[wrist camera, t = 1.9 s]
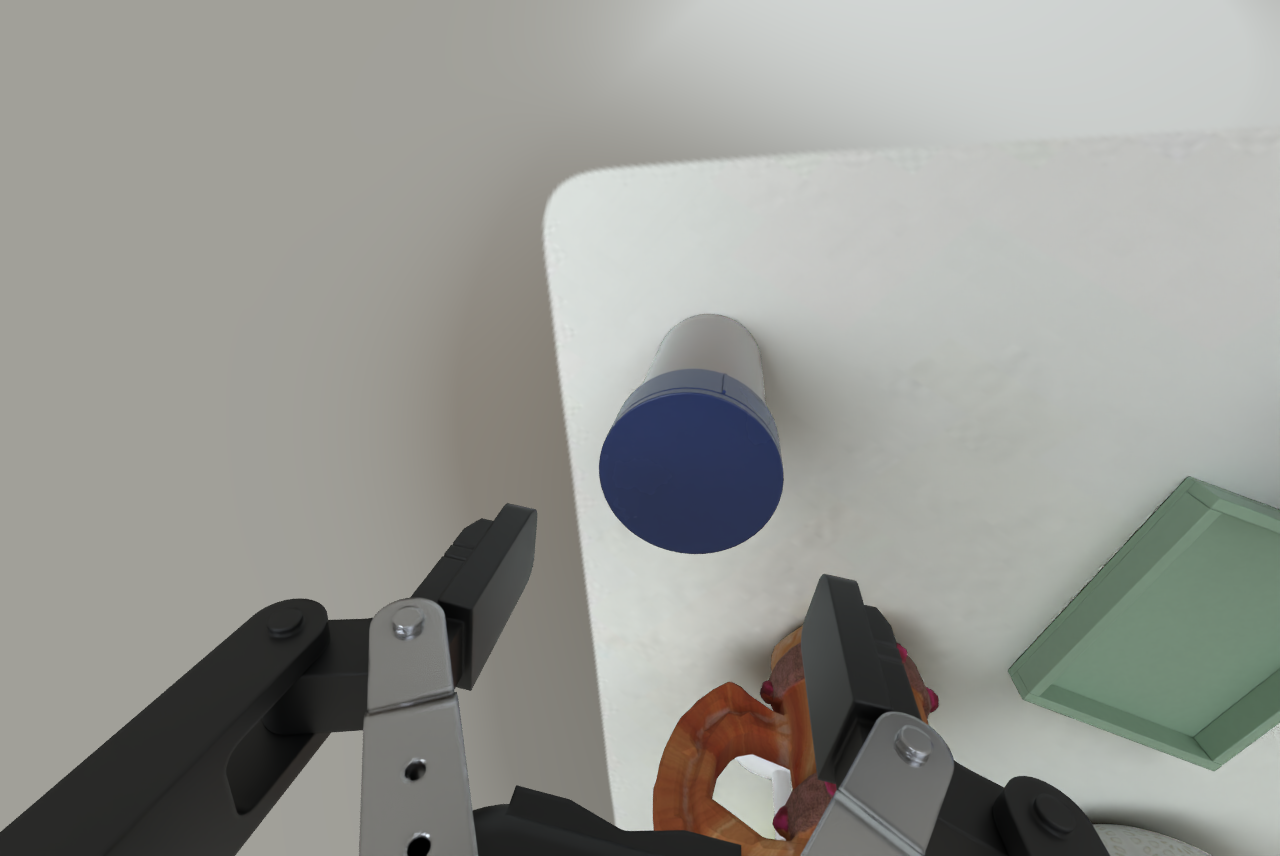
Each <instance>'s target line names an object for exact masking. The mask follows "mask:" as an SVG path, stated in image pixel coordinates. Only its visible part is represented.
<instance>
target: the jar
mask: <svg viewBox="0 0 1280 856" xmlns="http://www.w3.org/2000/svg"><path fill="white" fill-rule="evenodd" d="M680 369H705V370H711V371H716V372H719V373H722V374H724V373H727V374H728V376H730V377H732V378H735V379H737V380H738V381H740V382H741V383H743V384H745V385H746V386H747V387H749V388H750V389H751V390H752V391H754V392H755V393H756V394H757V395H758V396H759V397H760V398H761V399H762V401H763V402H764V403H765V405H766V400H765V391H764V381H763V371H762V361H761V354H760V350H759V347H758V345H757V343H756V341H755V339H754V338H753V336H752V335H751V333H750V332H749V331H748V330H747V329H746V328H745V327H744V326H742V325H741V324H740V323H738V322H737V321H735V320H733V319H731V318H728V317H725V316H722V315H716V314H702V315H697V316H693V317H690V318H687V319H685V320H683V321H682V322H680V323H678V324H677V325H676V326H674V327H673V328H672V329H671V330H670V331H669V332H668V334H667V335H666V336H665V338H664V340H663V341H662V343H661V345H660V347H659V350H658V352H657V354H656V356H655V358H654V360H653V362H652V365H651V367H650V369H649V371H648V373H647V375H646V377H645V379H644V382H643V384H644V383H645V382H647V381H648V380H650V379H652V378H654V377H656V376H658V375H661V374H664V373H667V372H670V371H675V370H680Z"/></svg>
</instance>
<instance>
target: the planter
mask: <svg viewBox="0 0 1280 856" xmlns="http://www.w3.org/2000/svg"><path fill="white" fill-rule="evenodd" d="M1092 825H1093V826H1094V828H1095V830H1096V832H1097V833H1098V835H1099V837H1100V839H1101V840H1102V842H1103V844H1104V846H1105V847H1106V849H1107V851H1108V853H1109V854H1110V856H1212V855H1210V854H1208V853H1206V852H1204V851H1202V850H1200V849H1198V848H1196V847H1194V846H1192V845H1189V844H1187V843H1185V842H1182V841H1180V840H1177V839H1174V838H1172V837H1169V836H1166V835H1163V834H1159V833H1156V832H1153V831H1149V830H1145V829H1141V828H1136V827H1130V826H1123V825H1111V824H1092Z"/></svg>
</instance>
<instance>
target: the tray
mask: <svg viewBox="0 0 1280 856" xmlns="http://www.w3.org/2000/svg"><path fill="white" fill-rule="evenodd" d="M1008 673H1009V674H1010V676H1011V677H1012V680H1013V682H1014V684H1015V686H1016V688H1017V690H1018V692H1019V694H1020V695H1021V697H1022V699H1023V700H1025V701H1028V702H1031V703H1033V704H1036V705H1039V706H1041V707H1044V708H1047V709H1049V710H1052V711H1055V712H1057V713H1060V714H1063V715H1065V716H1068V717H1071V718H1073V719H1076V720H1079V721H1081V722H1084V723H1087V724H1089V725H1092V726H1095V727H1097V728H1100V729H1103V730H1105V731H1108V732H1111V733H1113V734H1116V735H1119V736H1121V737H1124V738H1127V739H1129V740H1132V741H1135V742H1137V743H1140V744H1143V745H1145V746H1148V747H1151V748H1153V749H1156V750H1159V751H1161V752H1164V753H1167V754H1169V755H1172V756H1175V757H1177V758H1180V759H1183V760H1185V761H1188V762H1191V763H1193V764H1196V765H1199V766H1201V767H1204V768H1206V769H1209V770H1212V771H1215V770H1217V769H1218V768H1220V767H1221V766H1222V765H1223V764H1225V763H1226V762H1227V761H1229V760H1230V759H1231V758H1233V757H1234V756H1235V755H1237V754H1238V753H1239V752H1241V751H1242V750H1244V749H1245V748H1246V747H1248V746H1249V745H1250V744H1252V743H1253V742H1254V741H1256V740H1257V739H1258V738H1260V737H1261V736H1262V735H1264V734H1265V733H1266V732H1268V731H1269V730H1271V729H1272V728H1273V727H1275V726H1276V725H1277V724H1279V723H1280V510H1278V509H1276V508H1273V507H1270V506H1268V505H1265V504H1262V503H1259V502H1257V501H1254V500H1251V499H1249V498H1246V497H1243V496H1240V495H1238V494H1235V493H1232V492H1230V491H1227V490H1224V489H1222V488H1219V487H1216V486H1213V485H1211V484H1208V483H1205V482H1203V481H1200V480H1197V479H1194V478H1192V477H1187V478H1186V479H1185V481H1184V482H1183V483H1182V484H1181V485H1180V486H1179V487H1178V488H1177V489H1176V490H1175V491H1174V492H1173V493H1172V495H1171V496H1170V497H1169V498H1168V499H1167V500H1166V501H1165V502H1164V503H1163V504H1162V505H1161V506H1160V507H1159V508H1158V510H1157V511H1156V512H1155V513H1154V514H1153V515H1152V516H1151V517H1150V518H1149V519H1148V520H1147V521H1146V522H1145V524H1144V525H1143V526H1142V527H1141V528H1140V529H1139V530H1138V531H1137V532H1136V533H1135V534H1134V535H1133V536H1132V538H1131V539H1130V540H1129V541H1128V542H1127V543H1126V544H1125V545H1124V546H1123V547H1122V548H1121V549H1120V550H1119V552H1118V553H1117V554H1116V555H1115V556H1114V557H1113V558H1112V559H1111V560H1110V561H1109V562H1108V563H1107V564H1106V566H1105V567H1104V568H1103V569H1102V570H1101V571H1100V572H1099V573H1098V574H1097V575H1096V576H1095V577H1094V578H1093V580H1092V581H1091V582H1090V583H1089V584H1088V585H1087V586H1086V587H1085V588H1084V589H1083V590H1082V591H1081V592H1080V594H1079V595H1078V596H1077V597H1076V598H1075V599H1074V600H1073V601H1072V602H1071V603H1070V604H1069V605H1068V606H1067V608H1066V609H1065V610H1064V611H1063V612H1062V613H1061V614H1060V615H1059V616H1058V617H1057V618H1056V619H1055V620H1054V622H1053V623H1052V624H1051V625H1050V626H1049V627H1048V628H1047V629H1046V630H1045V631H1044V632H1043V633H1042V634H1041V636H1040V637H1039V638H1038V639H1037V640H1036V641H1035V642H1034V643H1033V644H1032V645H1031V646H1030V647H1029V648H1028V650H1027V651H1026V652H1025V653H1024V654H1023V655H1022V656H1021V657H1020V658H1019V659H1018V660H1017V661H1016V662H1015V664H1014V665H1013V666H1012V667H1011V668H1010V669H1009V670H1008Z"/></svg>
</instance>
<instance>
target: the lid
mask: <svg viewBox="0 0 1280 856" xmlns="http://www.w3.org/2000/svg"><path fill="white" fill-rule="evenodd" d="M599 477H600V482H601V487H602V490H603V493H604V496H605V498H606V500H607V502H608V504H609V506H610V508H611V510H612V511H613V513H614V514H615V515H616V517H617V518H618V519H619V520H620V521H621V522H622V524H623V525H625V526H626V527H627V528H628V529H629V530H630V531H631V532H633V533H634V534H635V535H637V536H638V537H640V538H641V539H643V540H645V541H647V542H648V543H650V544H653V545H655V546H657V547H660V548H663V549H666V550H669V551H674V552H679V553H687V554H706V553H714V552H718V551H723V550H726V549H729V548H732V547H734V546H737V545H739V544H741V543H743V542H745V541H746V540H748V539H749V538H751V537H752V536H754V535H755V534H756V533H757V532H758V531H759V530H761V529H762V528H763V527H764V525H765V524H766V523H767V522H768V521H769V520H770V518H771V516H772V515H773V513H774V512H775V510H776V508H777V506H778V503H779V501H780V497H781V494H782V489H783V481H784V478H783V464H782V457H781V450H780V443H779V436H778V431H777V427H776V424H775V421H774V418H773V417H772V415H771V413H770V411H769V409H768V408H767V406H766V405H765V403H764V402H763V401H762V399H761V398H760V397H759V396H758V395H757V394H756V393H755V392H754V391H752V390H751V389H750V388H749V387H747V386H746V385H745V384H743V383H741V382H740V381H738V380H737V379H735V378H732V377H730V376H728V374H727V373H724V374H722V373H719V372H716V371H711V370H705V369H680V370H675V371H670V372H667V373H664V374H661V375H658V376H656V377H654V378H652V379H650V380H648V381H647V382H645V383H644V384H642V385H641V386H640V387H638V388H637V389H636V390H635V391H634V392H633V393H632V394H631V395H630V396H629V398H628V399H627V400H626V401H625V403H624V405H623V406H622V408H621V410H620V411H619V413H618V415H617V417H616V419H615V421H614V423H613V425H612V427H611V429H610V431H609V433H608V435H607V437H606V439H605V442H604V444H603V447H602V451H601V455H600V462H599Z"/></svg>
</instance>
